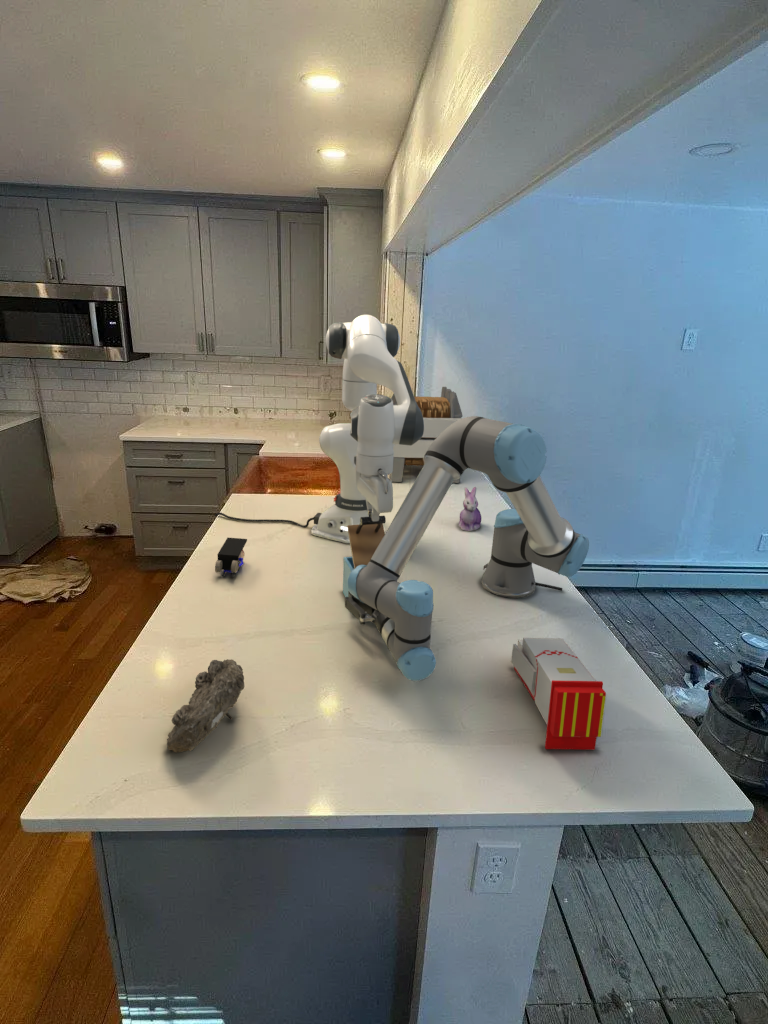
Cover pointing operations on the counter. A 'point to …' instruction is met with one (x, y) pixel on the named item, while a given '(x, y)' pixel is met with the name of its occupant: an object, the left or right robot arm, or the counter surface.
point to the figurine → (470, 512)
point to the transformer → (426, 430)
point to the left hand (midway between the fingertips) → (373, 518)
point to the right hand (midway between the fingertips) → (369, 584)
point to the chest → (347, 573)
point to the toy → (561, 692)
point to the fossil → (206, 705)
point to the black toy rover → (230, 556)
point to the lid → (365, 539)
